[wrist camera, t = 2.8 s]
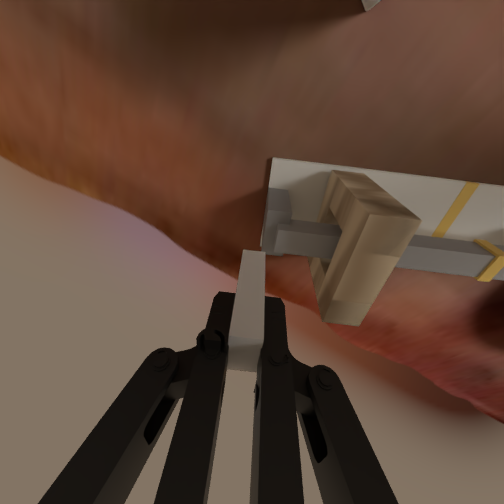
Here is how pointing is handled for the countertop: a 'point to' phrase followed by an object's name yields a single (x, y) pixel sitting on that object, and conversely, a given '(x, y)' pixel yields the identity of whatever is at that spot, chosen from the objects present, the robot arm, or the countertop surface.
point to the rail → (407, 193)
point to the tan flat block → (359, 245)
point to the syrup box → (369, 4)
